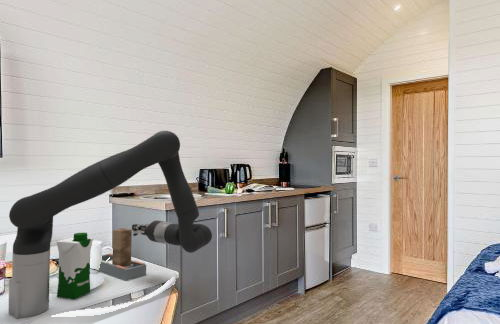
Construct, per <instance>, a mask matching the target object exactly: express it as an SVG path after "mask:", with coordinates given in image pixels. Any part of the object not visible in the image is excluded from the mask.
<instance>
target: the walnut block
mask: <svg viewBox="0 0 500 324" xmlns="http://www.w3.org/2000/svg"><path fill="white" fill-rule="evenodd" d="M132 234H133V230H132V228H126V227H123V228H117V229H113V230H112V254H113V257H112V264H113V265H119V266H122V267H126V266H130V265H131V260H132V241H133V240H132V238H133V235H132Z"/></svg>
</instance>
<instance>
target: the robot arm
mask: <svg viewBox="0 0 500 324" xmlns="http://www.w3.org/2000/svg"><path fill="white" fill-rule="evenodd" d="M180 147H181V141H180V138H179V137H178V135H176V133H174V132H172V131H170V130H169V131H168V130H160V131H158V132H156V133H154V134H153V135H151V136H150V137H148V138H146V140H143V141H141V142H140V143H138V144H137V145H134V146H133V147H131V148H128V149H127V150H124V151H121V152H118V153H116V154H113V155H111V156H108V157H106V158H104V159H101V160H99V161H97V162H94V163H92V164H90V165H88V166H87V167H85V168H82V169H81V170H80V171H77V172H76V173H74V174H73V175H71V176H69V177H67V178H66V179H63V181H61V182H60V183H58V184H56V185H54V186H52V187H49V188H47V189H44V190H42V191H39V192H36V193H34V194H30V195H28V196H24V197H22V198H19V199H18V200H16V202H15V203H13V204H12V206H11V208H10V210H9V214H8V216H9V221H10V223H11V224H12V225H13V226H15V227H16V228H17V230H16V236H15V239H14V242H13V244H12V264H11V265H12V269H11V270H12V271H11V273H12V275H11V278H9V279H8V314H9V315H11V316H12V317H14V318H15V319H19V318H25V317H26V318H27V317H33V316H36V315H39V314H42V313H44V312H46V311H48V310H49V307H50V275H51V274H50V273H51V269H50V267H51V265H50V263H51V260H50V259H51V243H52V240H53V239H52V238H53V232H54V231H53V230H54V217H55V216H56V215H58V214H60V213H61V212H63V211H65V210H67V209H69V208H71V207H73V206H76V205H78V204H81V203H85V202H87V201H90V200H92V199H94V198H96V197H99V196H101V195H103V194H105V193H108V192H109V191H111V190H113V189H115V188H116V187H117V188H118V187H119V186H120V185H122V184H123V183H125V182H127V181H128V180H131V178H133V177H134V176H135V175H136V174H138V173H139V172H140V173H141V171H142V170H145V169H148V167H149V168H150V167H151V166H154V165H157V164H158V165H159V167H160V169H161V171H162V173H163V177H164V179H165V182H166V184H167V185H166V186H167V188H168V192H169V195H170V199H171V202H172V203H171V204H172V205H173V208H174V211H175V214H176V217H177V223H173V222H170V221H165V220H153V221H151V222H150V223H145V224H144V223H143V224H139V223H134V224H132V225H131V230H132V234H133V235H132V237H133V236H134V237H136V236H137V235H143V236H144V237H147V238H148V239H149V241H150V242H155V243H159V244H164V245H173V246H176V247H177V246H181V248H182V249H183V250H184V251H185V252H187V253H189V254H191V253H192V254H193V253H195V252H197V251H198V250H200V249H202V248H203V247H206V246H207V245H208V244H209V243H210V242H211V241H212V239H213V233H212V230H211V229H210V227H208V226H207V225H205V224H202V223H194V222H195V221H196V219H198V218H199V216H200V211H199V208H198V206H197V202H196V198H195V197H194V196H195V195H194V194H193V191H192V189H191V187H190V185H189V183H188V179H187V178H186V176H185V173H184V171H183V167H182V164H181V159H180V154H179V152H180Z"/></svg>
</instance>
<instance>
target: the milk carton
mask: <svg viewBox="0 0 500 324" xmlns="http://www.w3.org/2000/svg"><path fill="white" fill-rule="evenodd" d="M93 241H94V238H92V237H88V233H87V232H76V233H73V236H72V237H69V238H64V239H60V240H57V241H56V245H57V251H58V282H57V291H56V298H61V299H67V300H73V301H75V300H77V299H79V298H81V297H84V296H86V295H87V294H90V293H91V277H90V276H91V268H90V258H91V249H92V245H93Z"/></svg>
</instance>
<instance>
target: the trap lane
mask: <svg viewBox="0 0 500 324" xmlns="http://www.w3.org/2000/svg"><path fill="white" fill-rule="evenodd" d="M101 255H102V260H101V264H100V268H99V271H98V272H99V273H102V274H105V275H107V276H110V277H114V278H117V279H119V280H121V281H125V282H126V281H130V280H134V279H138V278H140V277H144V276H147V264H146V263H145V262H141V261H139V260H138V261H137V260H132V259H131V265H130V266H126V267H122V266H119V265H113V264H112V257H113V253H106V254H101ZM109 257H110V259H109V260H108V261H107V262H106V260H107V259H108V258H109Z"/></svg>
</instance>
